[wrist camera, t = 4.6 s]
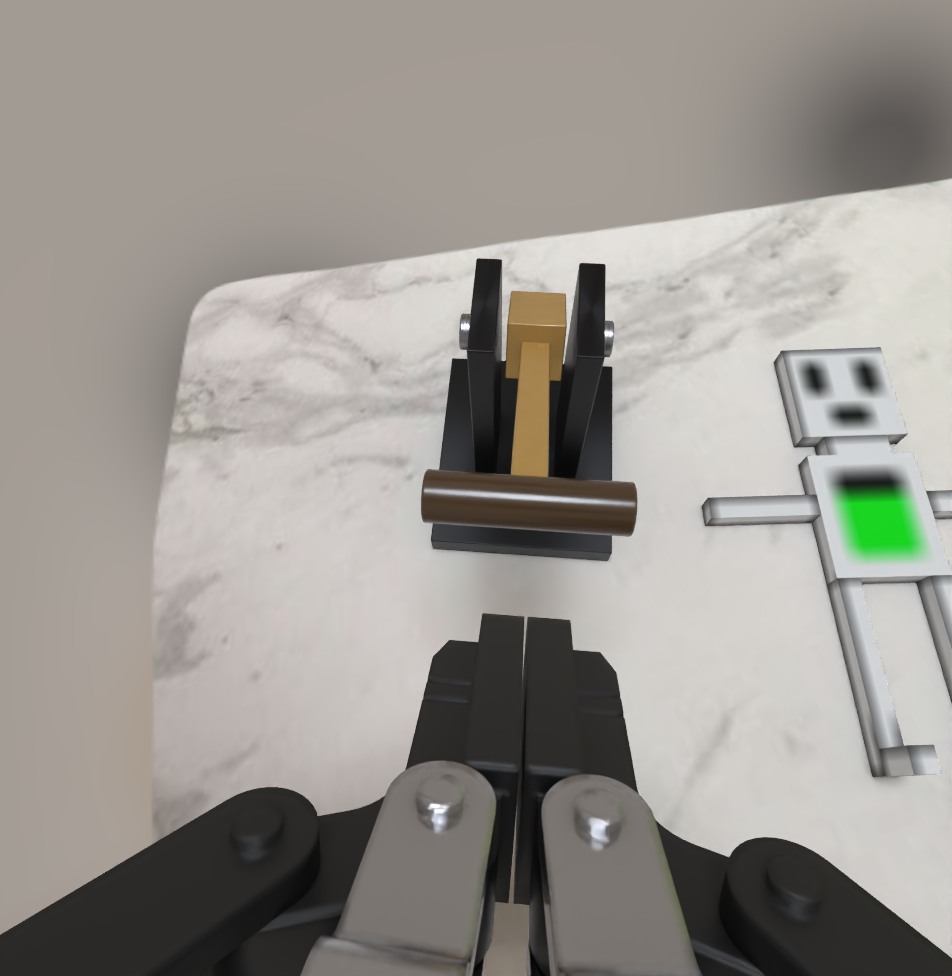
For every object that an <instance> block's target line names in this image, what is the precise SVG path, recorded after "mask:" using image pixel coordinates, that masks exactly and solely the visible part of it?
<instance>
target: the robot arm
mask: <svg viewBox="0 0 952 976" xmlns="http://www.w3.org/2000/svg"><path fill="white" fill-rule="evenodd" d="M523 641H524V617H522V616H510V615H497V614H485V613H483V614H482V620H481V627H480V634H479V642H467V641H455V640H449V641H448V642H447V643H446V644H445V645H444V646H443V647H442V648H441V649H440V650H439V651H438V652H437V653H436V654H435V655H434V656H433V659H432V663H431V667H430V671H429V675H428V682H427V684H426V688H425V692H424V698H423V700H422V704H421V709H420V713H419V717H418V721H417V725H416V729H415V734H414V738H413V742H412V746H411V750H410V754H409V758H408V763H407V767H406V770H405V771H404V772H402V773H401V774H400V775H399V776H398V777H397V778H396V779H394V781H393V782H392V783H391V785H390V786H389V788H388V790H387V793H386V795H385V796H384V797H383V798H381V799H380V800H378V801H376V802H374V803H372V804H370V805H367V806H365V807H362V808H359V809H354V810H350V811H345V812H339V813H334V814H328V815H322V816H317V812H316V810H315V808H314V806H313V805H312V804H311V803H310V801H309V800H308V799H306V798H305V797H304V796H303V795H301V794H299V793H297V792H295V791H292V790H289V789H285V788H278V787H266V788H258V789H253V790H249V791H246V792H243V793H240V794H238V795H236V796H234V797H232V798H230V799H228V800H226V801H224V802H223V803H221V804H219V805H218V806H216V807H214V808H213V809H211V810H209V811H208V812H206V813H204V814H203V815H201V816H199V817H198V818H196V819H194V820H193V821H191V822H189V823H187V824H186V825H184V826H182V827H181V828H179V829H177V830H176V831H174V832H172V833H171V834H169V835H167V836H166V837H164V838H162V839H161V840H159V841H157V842H156V843H154V844H152V845H151V846H149V847H147V848H146V849H144V850H142V851H140V852H139V853H137V854H135V855H134V856H132V857H130V858H129V859H127V860H125V861H124V862H122V863H120V864H119V865H117V866H115V867H114V868H112V869H110V870H109V871H107V872H105V873H103V874H102V875H100V876H98V877H97V878H95V879H93V880H92V881H90V882H88V883H87V884H85V885H83V886H82V887H80V888H78V889H77V890H75V891H73V892H72V893H70V894H68V895H67V896H65V897H63V898H62V899H60V900H58V901H56V902H55V903H53V904H51V905H50V906H48V907H46V908H45V909H43V910H41V911H40V912H38V913H36V914H35V915H33V916H31V917H30V918H28V919H26V920H25V921H23V922H21V923H20V924H18V925H16V926H14V927H13V928H11V929H9V930H8V931H6V932H4V933H3V934H1V935H0V976H484V970H485V962H486V953H487V951H488V949H489V947H490V944H491V941H492V934H493V923H494V909H495V902H501V903H509V891H510V879H511V866H512V854H513V842H514V830H515V818H516V842H515V872H514V901H513V903H514V904H523V905H529V940H528V950H527V961H526V972H527V976H952V958H951V957H950V956H948V955H947V954H946V953H945V952H943V951H942V950H941V949H939V948H938V947H937V946H936V945H934V944H933V943H932V942H930V941H929V940H928V939H927V938H925V937H924V936H923V935H922V934H920V933H919V932H918V931H916V930H915V929H914V928H913V927H911V926H910V925H909V924H908V923H906V922H905V921H904V920H902V919H901V918H900V917H899V916H897V915H896V914H895V913H894V912H892V911H891V910H890V909H888V908H887V907H886V906H885V905H883V904H882V903H881V902H879V901H878V900H877V899H876V898H874V897H873V896H872V895H871V894H869V893H868V892H867V891H865V890H864V889H863V888H862V887H860V886H859V885H858V884H857V883H855V882H854V881H853V880H851V879H850V878H849V877H848V876H846V875H845V874H844V873H843V872H841V871H840V870H839V869H837V868H836V867H835V866H834V865H832V864H831V863H830V862H828V861H827V860H826V859H824V858H823V857H821V856H820V855H819V854H817V853H815V852H813V851H812V850H810V849H808V848H806V847H804V846H801V845H799V844H797V843H794V842H790V841H787V840H783V839H778V838H767V837H763V838H755V839H751V840H748V841H745V842H744V843H742V844H740V845H739V846H738V847H736V848H735V849H734V851H733V852H732V854H731V855H730V857H727V856H724V855H721V854H718V853H716V852H713V851H710V850H708V849H705V848H702V847H700V846H697V845H694V844H692V843H690V842H687V841H685V840H683V839H681V838H679V837H677V836H676V835H674V834H672V833H671V832H669V831H668V830H667V829H665V828H664V827H663V826H662V825H660V824H659V823H658V822H657V821H656V820H655V818H654V815H653V813H652V811H651V809H650V807H649V806H648V804H647V803H646V802H645V800H644V799H643V798H642V797H641V796H640V795H639V794H638V790H637V786H636V780H635V774H634V769H633V763H632V758H631V752H630V747H629V741H628V736H627V730H626V724H625V719H624V718H623V708H622V702H621V699H620V691H619V685H618V680H617V674H616V672H615V670H614V669H613V668H612V667H611V665H610V664H609V663H608V662H607V660H606V659H605V658H604V657H603V655H602V654H601V653H600V652H590V651H578V650H573V646H572V634H571V623H570V620H562V619H549V618H537V617H528V619H527V629H526V642H525V654H524V667H523ZM522 674H523V679H522ZM516 806H517V812H516Z"/></svg>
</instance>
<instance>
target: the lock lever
mask: <svg viewBox="0 0 952 976" xmlns="http://www.w3.org/2000/svg"><path fill="white" fill-rule="evenodd" d="M566 327H567V326H566V294H562V293H541V292H520V291H512V292H511V298H510V307H509V315H508V324H507V348H506V371H505V377H506V378H517V379H518V388H517V401H516V413H515V426H514V439H513V451H512V464H511V475H510V474H495V473H479V472H463V471H447V470H432V469H428V470H426V472H425V475H424V479H423V485H422V496H421V515H422V520H423V522H425V523H437V524H451V525H466V526H481V527H495V528H510V529H525V530H539V531H554V532H569V533H583V534H598V535H612V536H627V537H629V536H631V535H632V534H633V531H634V528H635V523H636V515H637V490H636V486H635V484H634V483H633V482H621V481H605V480H589V479H573V478H558V477H548V457H549V389H550V380H554V381H560V380H561V375H562V365H563V356H564V346H565V336H566Z"/></svg>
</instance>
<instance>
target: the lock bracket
mask: <svg viewBox="0 0 952 976" xmlns="http://www.w3.org/2000/svg"><path fill="white" fill-rule="evenodd" d="M613 339H614V323H613V321H605V264H590V263H580V265H579V271H578V278H577V284H576V291H575V297H574V304H573V310H572V317H571V323H570V330H569V336H568V343H567V350H566V356H565V363H564V364H563V365H562V375H561V380H560V381H554V380H550V389H549V457H548V477H558V478H573V479H589V480H605V481H612V367H605V366H603V362H604V358H605V357H610V355H611V353H612V347H613ZM459 345H460V349H462V350H467V359H455V358H453V359H452V366H451V374H450V383H449V391H448V400H447V408H446V417H445V425H444V434H443V442H442V451H441V459H440V468H439V470H447V471H463V472H479V473H495V474H510V475H511V464H512V451H513V439H514V426H515V413H516V401H517V388H518V379H517V378H506V377H505V371H506V361H501V351H502V260H501V259H477V261H476V270H475V279H474V289H473V298H472V307H471V314H462V315H461V319H460V331H459ZM431 542H432V546H433V548H436V549H451V550H465V551H479V552H493V553H507V554H521V555H536V556H550V557H564V558H578V559H592V560H606V561H607V560H608V559H609V557H610V555H611V553H612V535H598V534H583V533H569V532H554V531H539V530H525V529H510V528H495V527H481V526H466V525H451V524H437V523H433V527H432V535H431Z"/></svg>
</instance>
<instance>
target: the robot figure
mask: <svg viewBox="0 0 952 976" xmlns="http://www.w3.org/2000/svg"><path fill="white" fill-rule="evenodd" d="M774 364H775V368H776V372H777V376H778V381H779V385H780V389H781V393H782V397H783V402H784V406H785V410H786V414H787V418H788V423H789V427H790V431H791V435H792V439H793V443H794V447H808V446H815V449H816V453H817V456H807V457H806V458H805V459H804V460H803V461H802V462H801V463H800V464H799V469H800V473H801V477H802V481H803V485H804V490H805V494H806V495H785V496H753V497H721V498H707V500H706V501H705V503H704V504H703V505H702V510H703V516H704V522H705V526H715V525H748V524H782V523H813V527H814V532H815V536H816V540H817V544H818V548H819V553H820V557H821V561H822V565H823V569H824V574H825V578H826V582H827V586H828V590H829V595H830V599H831V603H832V607H833V611H834V616H835V620H836V624H837V628H838V632H839V636H840V641H841V645H842V649H843V653H844V657H845V662H846V666H847V670H848V674H849V678H850V683H851V687H852V691H853V695H854V699H855V704H856V708H857V712H858V716H859V720H860V725H861V729H862V733H863V737H864V741H865V746H866V750H867V754H868V758H869V762H870V767H871V771H872V775H873V777H887V776H914V775H936V774H942V772H941V769H940V765H939V762H938V758H937V754H936V751H935V747H934V745H908V746H904V744H903V740H902V737H901V733H900V729H899V725H898V721H897V717H896V713H895V710H894V706H893V702H892V698H891V694H890V690H889V686H888V683H887V679H886V675H885V671H884V667H883V663H882V660H881V656H880V652H879V648H878V644H877V640H876V636H875V633H874V629H873V625H872V621H871V617H870V613H869V610H868V606H867V602H866V598H865V594H864V590H863V586H862V584H864V583H899V582H917V585H918V588H919V591H920V595H921V598H922V602H923V605H924V608H925V612H926V615H927V619H928V622H929V625H930V629H931V632H932V636H933V639H934V642H935V646H936V649H937V653H938V656H939V659H940V663H941V666H942V670H943V673H944V676H945V680H946V683H947V687H948V690H949V693H950V697H951V700H952V571H951V568H950V565H949V562H948V559H947V555H946V552H945V549H944V546H943V543H942V540H941V537H940V533H939V530H938V527H937V524H936V521H935V519H947V518H952V490H947V491H926V489H925V486H924V483H923V480H922V477H921V474H920V470H919V467H918V464H917V461H916V458H915V455H914V452H913V453H892V450H891V447H890V444H897V443H898V442H899V441H900V440H901V439H903V438H904V437H905V436H906V435H907V434H908V433H907V430H906V426H905V423H904V420H903V417H902V414H901V411H900V408H899V404H898V401H897V398H896V395H895V392H894V389H893V385H892V382H891V379H890V376H889V373H888V370H887V367H886V363H885V360H884V357H883V354H882V351H881V348H880V347H876V348H848V349H819V350H790V351H781V352H780V354H779V355H778V357H777V358H776V360H775V362H774Z"/></svg>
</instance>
